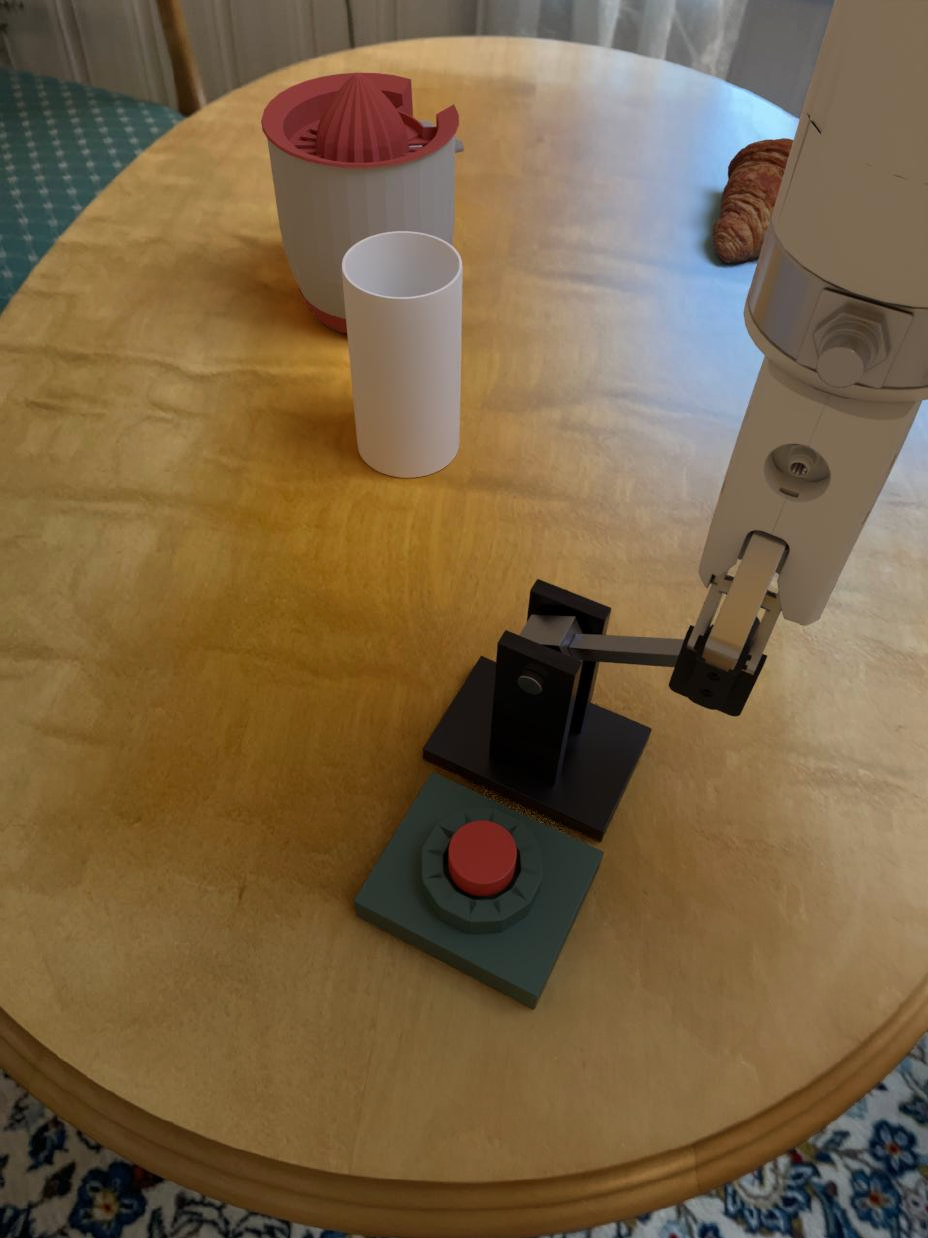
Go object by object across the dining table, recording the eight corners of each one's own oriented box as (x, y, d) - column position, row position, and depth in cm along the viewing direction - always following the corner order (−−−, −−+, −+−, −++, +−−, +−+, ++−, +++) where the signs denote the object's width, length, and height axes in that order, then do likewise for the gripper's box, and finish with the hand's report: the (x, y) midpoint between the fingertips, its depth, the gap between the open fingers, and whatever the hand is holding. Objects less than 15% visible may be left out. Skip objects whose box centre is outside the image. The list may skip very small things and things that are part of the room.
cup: (337, 437, 79) (317, 257, 66) (416, 396, 82) (412, 217, 69) (399, 493, 75) (390, 314, 62) (480, 447, 78) (487, 268, 65)
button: (526, 851, 53) (528, 838, 52) (496, 908, 51) (498, 895, 50) (467, 823, 54) (467, 809, 53) (436, 878, 52) (436, 864, 51)
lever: (765, 638, 48) (754, 602, 47) (735, 714, 45) (722, 678, 44) (556, 627, 55) (541, 596, 54) (519, 692, 53) (502, 661, 51)
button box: (599, 867, 56) (608, 837, 53) (534, 1010, 51) (540, 986, 48) (432, 788, 59) (431, 755, 56) (355, 916, 54) (350, 887, 51)
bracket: (649, 739, 62) (689, 614, 52) (601, 842, 57) (635, 728, 47) (480, 666, 65) (487, 535, 55) (422, 759, 60) (418, 635, 50)
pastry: (871, 272, 95) (901, 193, 88) (713, 267, 95) (732, 188, 88) (834, 183, 105) (859, 107, 99) (692, 179, 105) (708, 102, 99)
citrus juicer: (505, 303, 90) (519, 76, 75) (352, 377, 83) (332, 143, 68) (403, 231, 98) (395, 10, 82) (254, 293, 91) (215, 65, 75)
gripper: (944, 504, 25) (763, 807, 39) (1034, 197, 35) (864, 526, 48) (669, 410, 27) (589, 730, 41) (826, 144, 37) (719, 475, 50)
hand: (738, 619), depth 44 cm, fingers open, 9 cm apart
